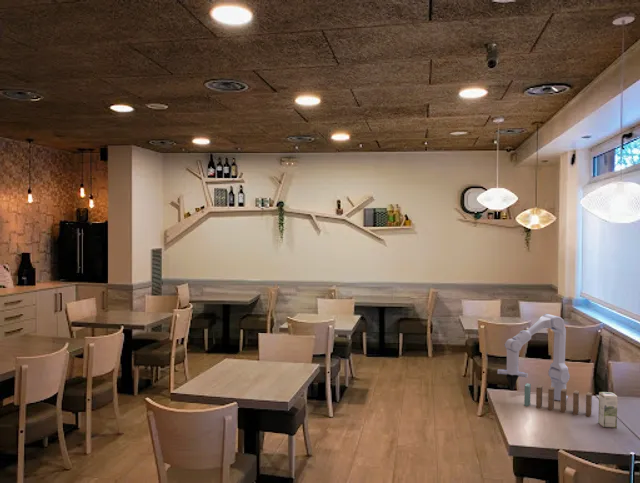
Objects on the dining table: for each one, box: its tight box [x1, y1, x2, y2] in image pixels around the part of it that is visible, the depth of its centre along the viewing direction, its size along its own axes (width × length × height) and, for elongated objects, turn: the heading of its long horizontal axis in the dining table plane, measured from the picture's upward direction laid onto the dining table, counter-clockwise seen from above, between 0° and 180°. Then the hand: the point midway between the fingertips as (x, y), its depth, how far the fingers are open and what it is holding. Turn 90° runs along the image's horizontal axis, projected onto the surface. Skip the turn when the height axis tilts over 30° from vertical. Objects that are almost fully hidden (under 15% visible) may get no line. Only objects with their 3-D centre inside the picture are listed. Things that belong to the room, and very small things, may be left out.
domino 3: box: [547, 386, 555, 411], centre depth 264 cm, size 5×2×10 cm, turn 149°
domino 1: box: [523, 382, 532, 407], centre depth 270 cm, size 5×2×10 cm, turn 149°
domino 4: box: [559, 388, 567, 413], centre depth 262 cm, size 5×2×10 cm, turn 149°
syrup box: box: [597, 391, 619, 429], centre depth 242 cm, size 6×6×14 cm
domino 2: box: [535, 384, 543, 409], centre depth 267 cm, size 5×2×10 cm, turn 149°
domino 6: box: [585, 392, 593, 418], centre depth 256 cm, size 5×2×10 cm, turn 149°
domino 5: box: [572, 389, 580, 415], centre depth 259 cm, size 5×2×10 cm, turn 149°
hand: (512, 389), depth 274 cm, fingers closed
